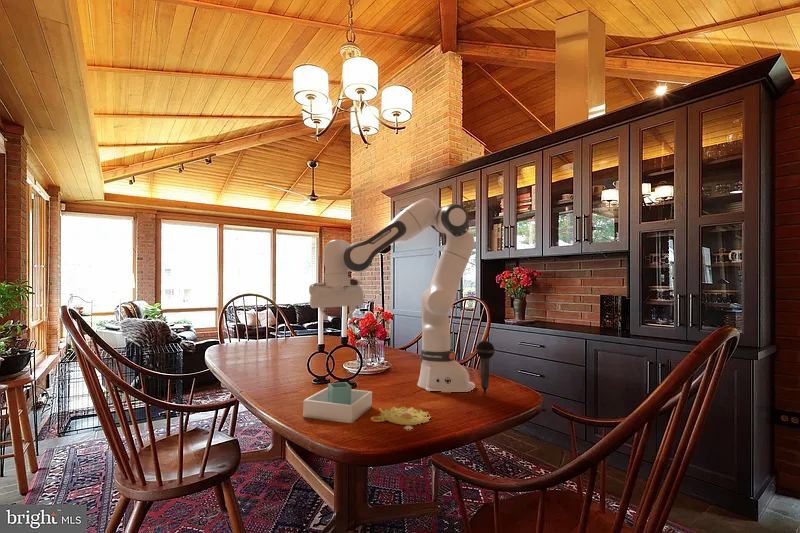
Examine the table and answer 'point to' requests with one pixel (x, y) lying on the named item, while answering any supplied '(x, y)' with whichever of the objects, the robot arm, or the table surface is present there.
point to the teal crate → (339, 393)
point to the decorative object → (403, 416)
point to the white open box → (337, 406)
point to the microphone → (485, 362)
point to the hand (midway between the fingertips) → (338, 319)
